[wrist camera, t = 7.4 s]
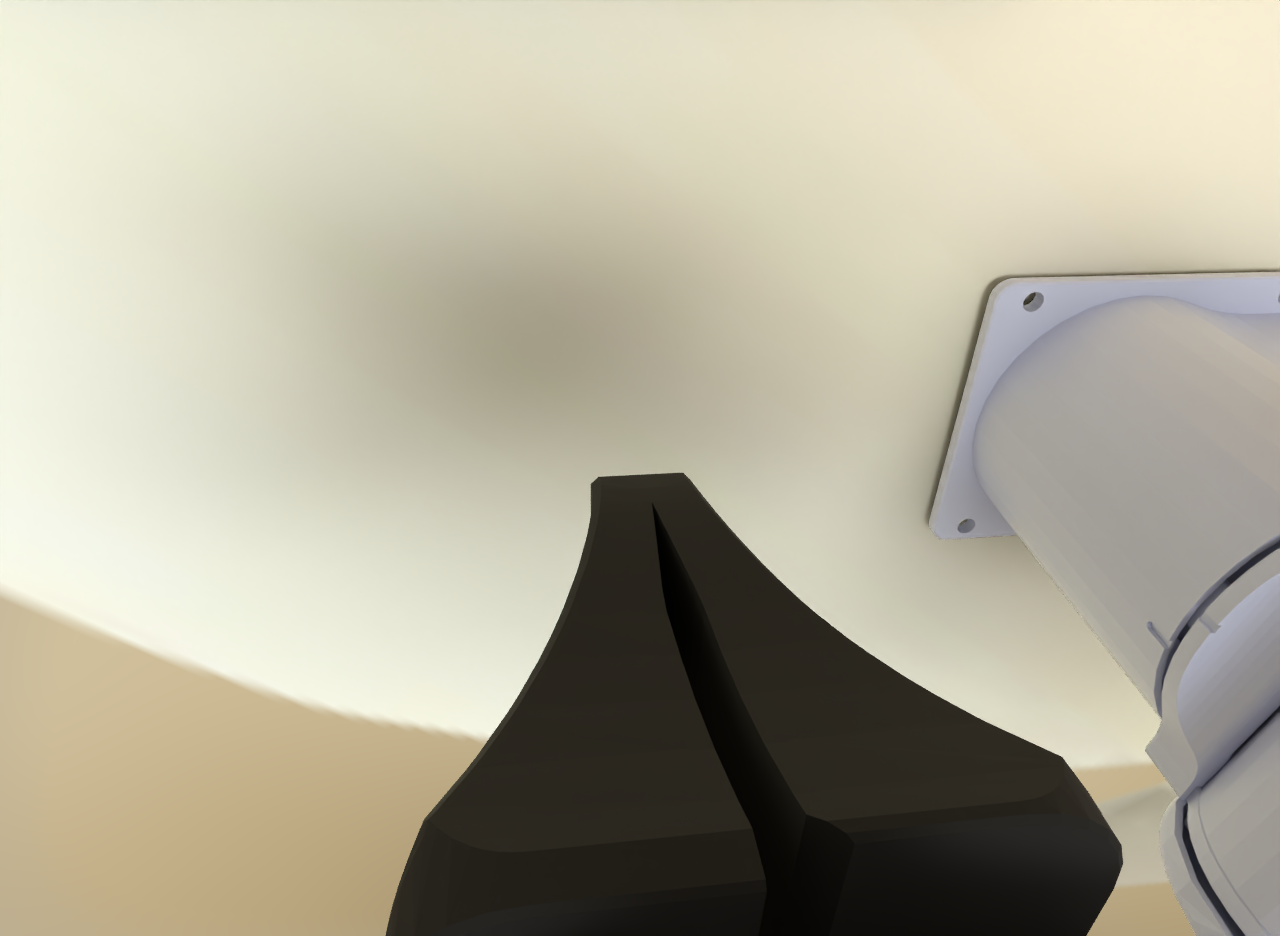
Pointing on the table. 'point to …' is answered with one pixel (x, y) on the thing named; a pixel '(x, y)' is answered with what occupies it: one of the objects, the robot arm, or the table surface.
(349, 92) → the table surface
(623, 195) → the table surface
